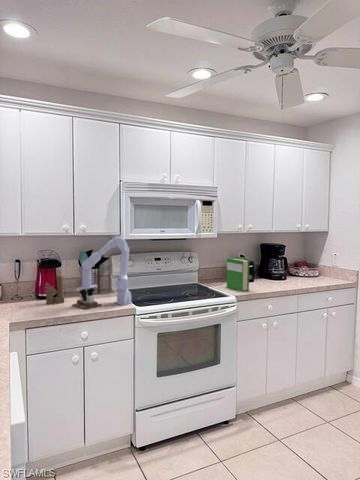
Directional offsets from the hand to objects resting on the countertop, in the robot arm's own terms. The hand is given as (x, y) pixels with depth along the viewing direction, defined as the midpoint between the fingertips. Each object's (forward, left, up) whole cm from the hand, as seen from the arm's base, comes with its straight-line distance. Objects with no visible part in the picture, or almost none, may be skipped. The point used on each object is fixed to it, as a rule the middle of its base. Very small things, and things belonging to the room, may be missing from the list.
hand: (87, 300), depth 223 cm
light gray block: (0, 0, -2) cm, 2 cm away
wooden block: (+21, +10, -4) cm, 24 cm away
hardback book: (-46, -109, -4) cm, 118 cm away
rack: (0, 0, -3) cm, 3 cm away
